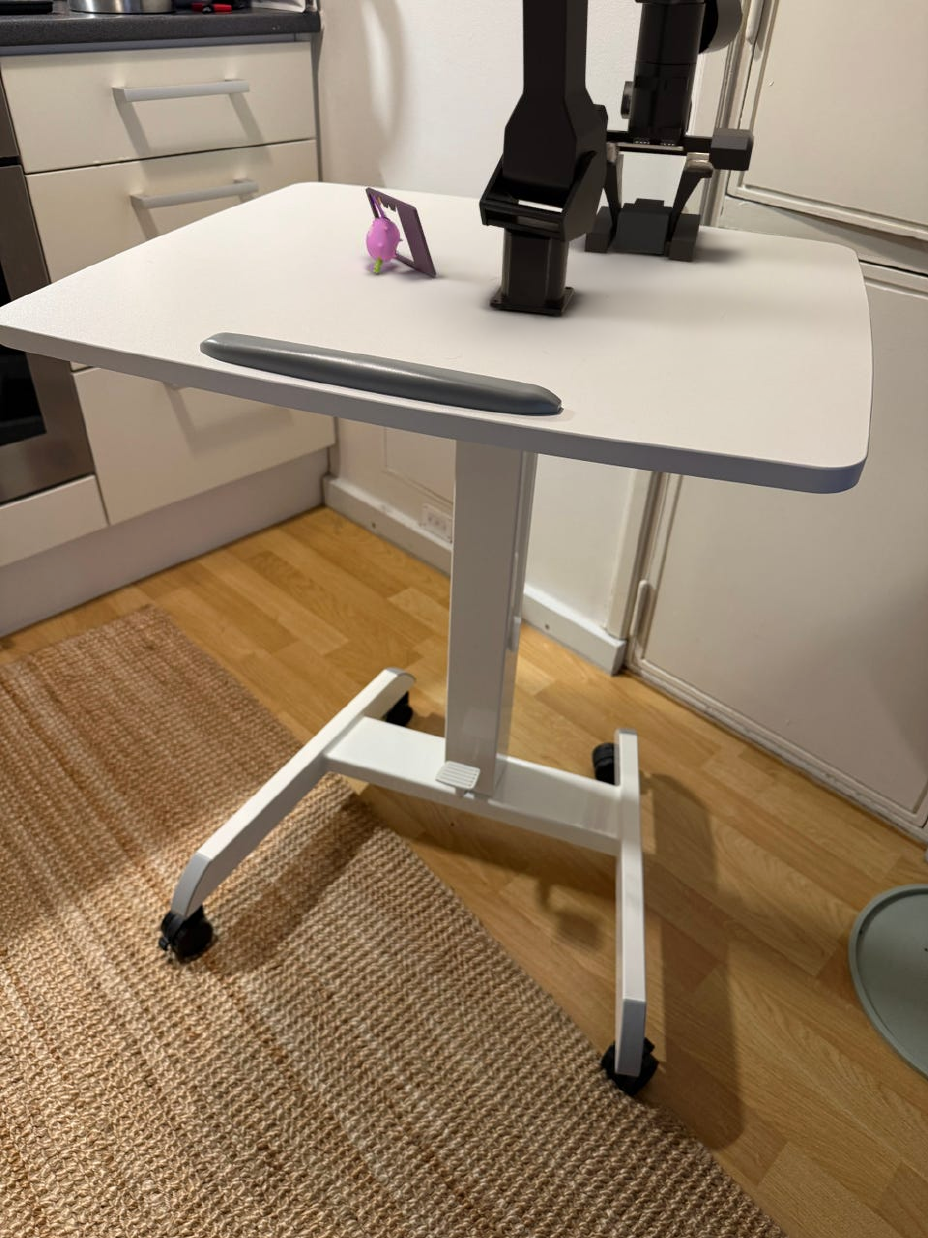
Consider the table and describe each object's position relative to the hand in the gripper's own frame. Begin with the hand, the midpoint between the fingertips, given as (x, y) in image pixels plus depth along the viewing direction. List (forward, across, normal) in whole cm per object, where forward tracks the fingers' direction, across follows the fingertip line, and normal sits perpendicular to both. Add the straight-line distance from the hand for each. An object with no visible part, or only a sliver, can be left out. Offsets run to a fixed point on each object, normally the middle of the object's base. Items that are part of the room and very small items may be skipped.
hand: (642, 235), depth 94 cm
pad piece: (+1, 0, -1) cm, 2 cm away
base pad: (+1, 0, -2) cm, 3 cm away
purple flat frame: (+1, +22, +15) cm, 27 cm away
